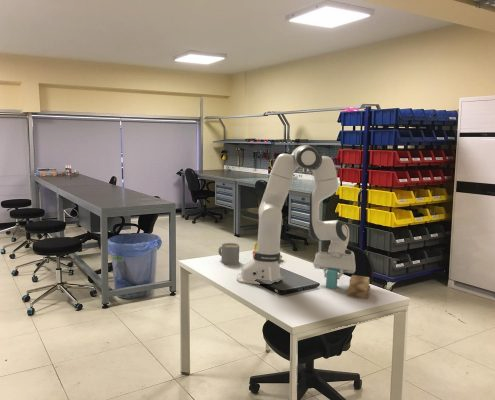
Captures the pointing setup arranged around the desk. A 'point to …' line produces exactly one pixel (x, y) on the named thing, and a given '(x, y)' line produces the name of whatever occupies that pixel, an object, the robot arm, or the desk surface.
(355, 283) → the oak top block
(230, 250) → the coffee mug
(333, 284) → the teal pillar
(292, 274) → the desk surface
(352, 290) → the walnut base block
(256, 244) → the plastic component
